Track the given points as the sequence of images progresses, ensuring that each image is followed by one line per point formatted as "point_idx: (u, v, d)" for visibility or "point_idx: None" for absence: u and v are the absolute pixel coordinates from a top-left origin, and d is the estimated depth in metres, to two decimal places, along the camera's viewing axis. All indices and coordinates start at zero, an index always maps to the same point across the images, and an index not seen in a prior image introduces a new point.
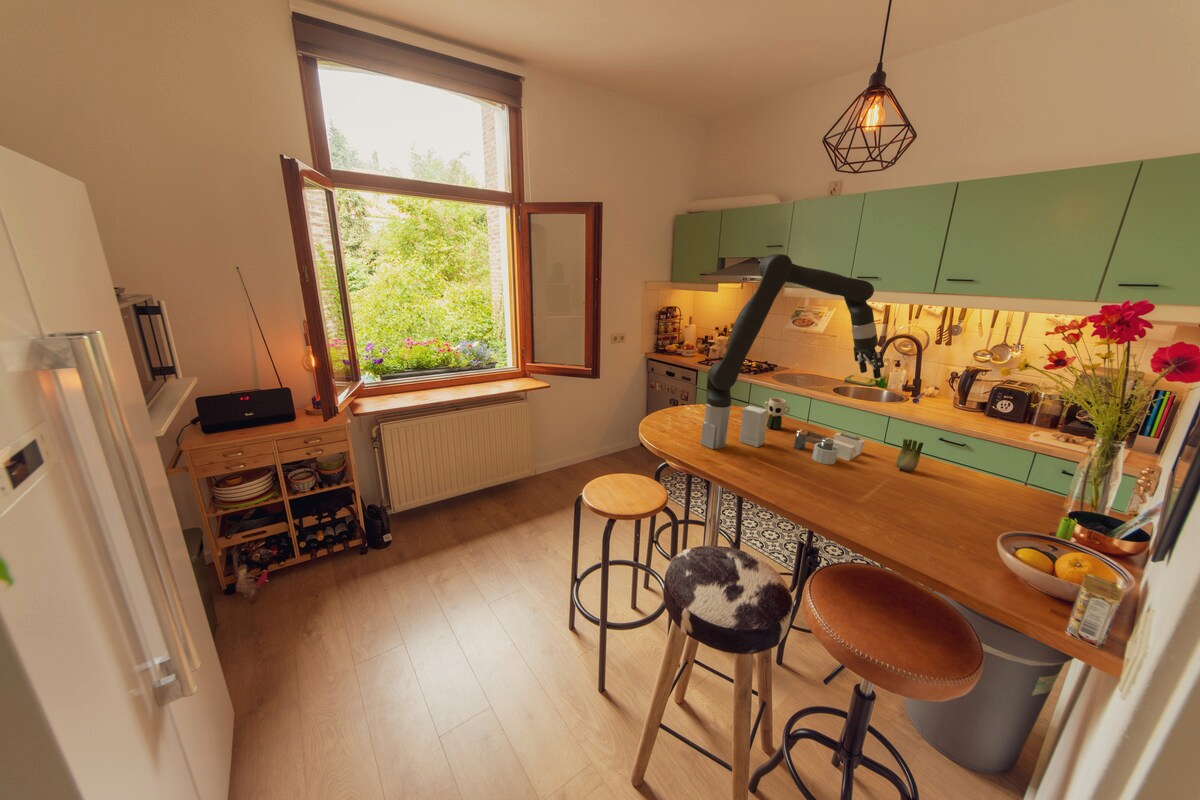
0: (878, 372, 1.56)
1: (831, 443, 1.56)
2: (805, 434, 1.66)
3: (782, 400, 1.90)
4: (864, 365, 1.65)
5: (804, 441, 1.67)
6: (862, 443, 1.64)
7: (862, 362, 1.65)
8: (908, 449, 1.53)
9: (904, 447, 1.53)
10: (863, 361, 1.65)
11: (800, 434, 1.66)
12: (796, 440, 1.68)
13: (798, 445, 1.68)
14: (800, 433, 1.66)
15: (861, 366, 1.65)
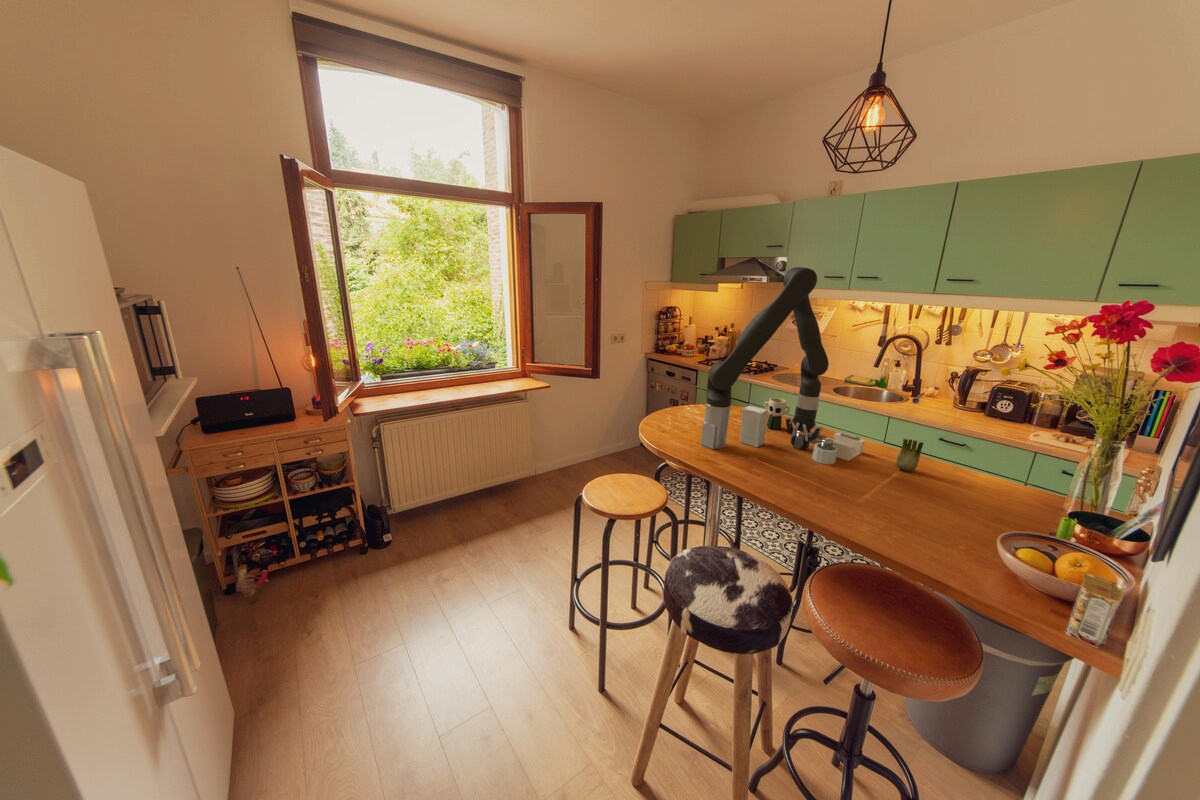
0: (808, 444, 1.66)
1: (831, 443, 1.56)
2: None
3: (782, 400, 1.90)
4: None
5: None
6: (862, 443, 1.64)
7: (795, 434, 1.70)
8: (908, 449, 1.53)
9: (904, 447, 1.53)
10: None
11: (800, 434, 1.66)
12: (796, 440, 1.68)
13: (798, 445, 1.68)
14: (800, 433, 1.66)
15: (794, 439, 1.70)
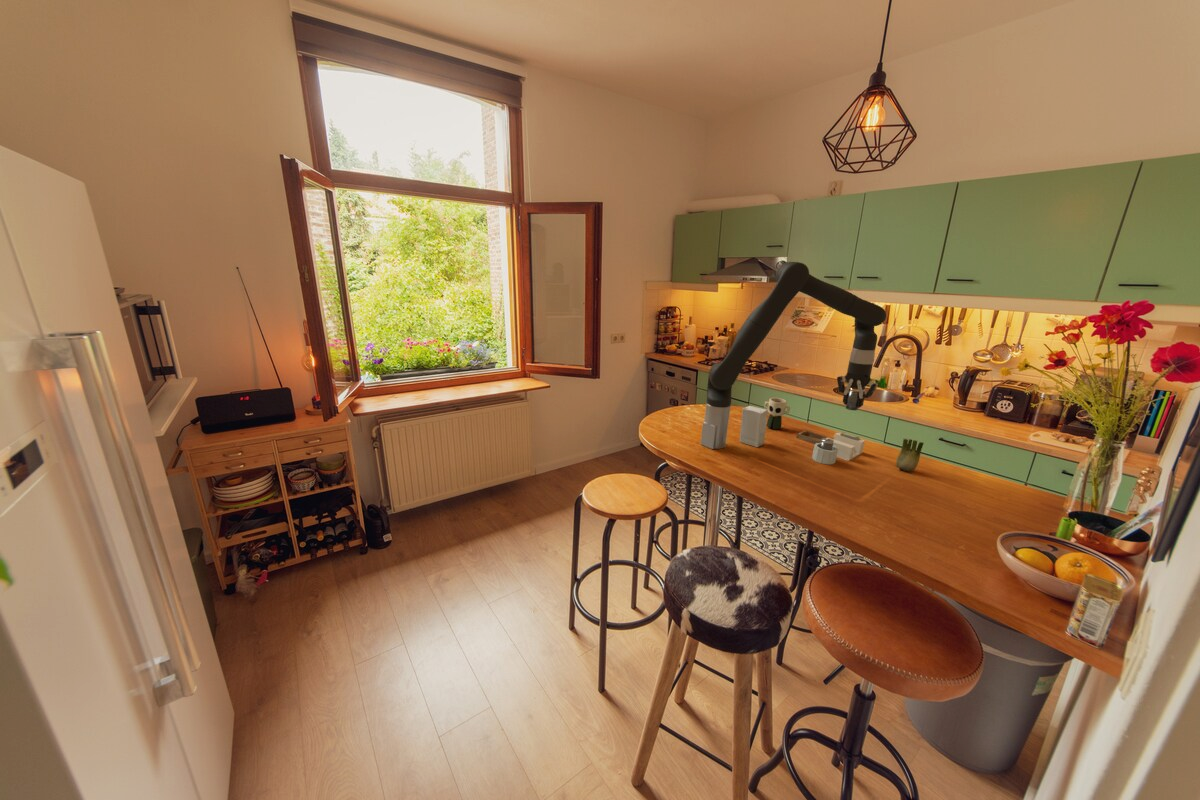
0: (862, 401, 1.58)
1: (831, 443, 1.56)
2: None
3: (782, 400, 1.90)
4: None
5: None
6: (862, 443, 1.64)
7: None
8: (908, 449, 1.53)
9: (904, 447, 1.53)
10: (848, 392, 1.61)
11: (854, 392, 1.57)
12: (849, 398, 1.59)
13: (852, 403, 1.59)
14: (854, 390, 1.57)
15: (847, 397, 1.61)
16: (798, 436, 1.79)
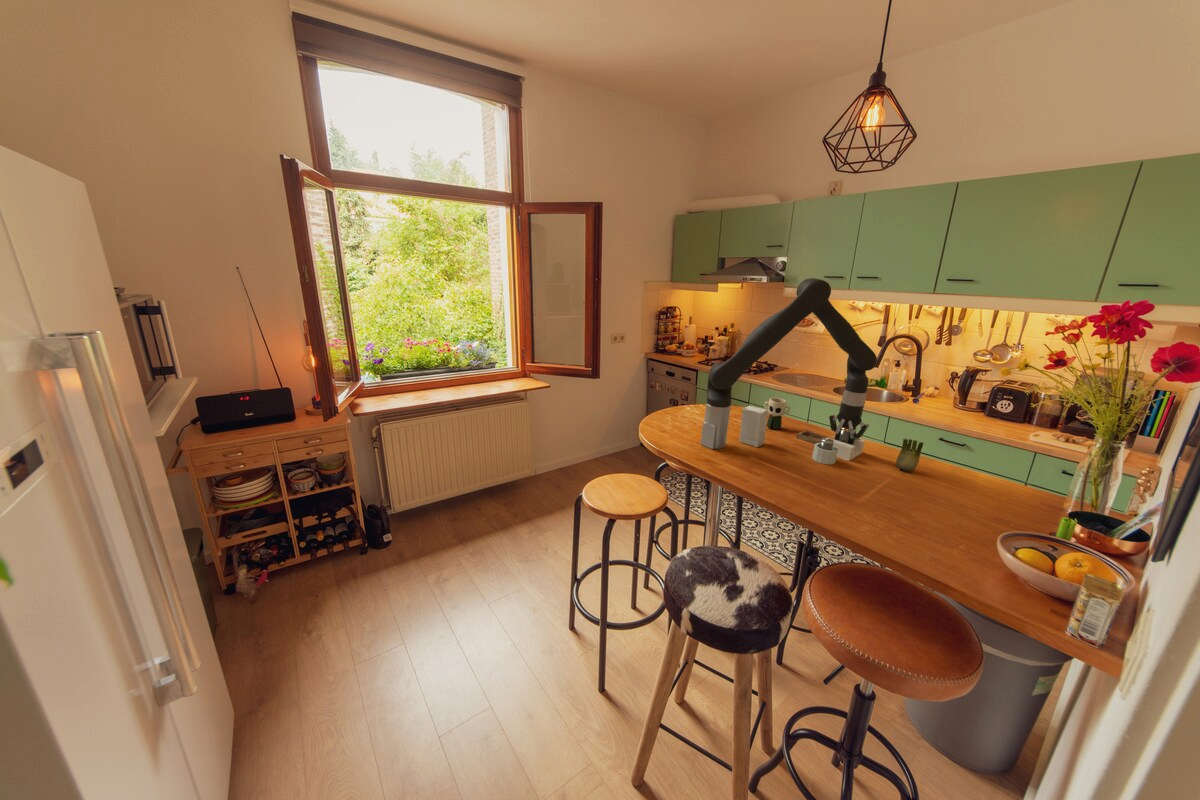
0: (853, 441, 1.63)
1: (831, 443, 1.56)
2: None
3: (782, 400, 1.90)
4: None
5: None
6: (862, 443, 1.64)
7: None
8: (908, 449, 1.53)
9: (904, 447, 1.53)
10: None
11: (845, 431, 1.62)
12: (841, 437, 1.64)
13: None
14: (845, 430, 1.62)
15: (838, 436, 1.66)
16: (798, 436, 1.79)
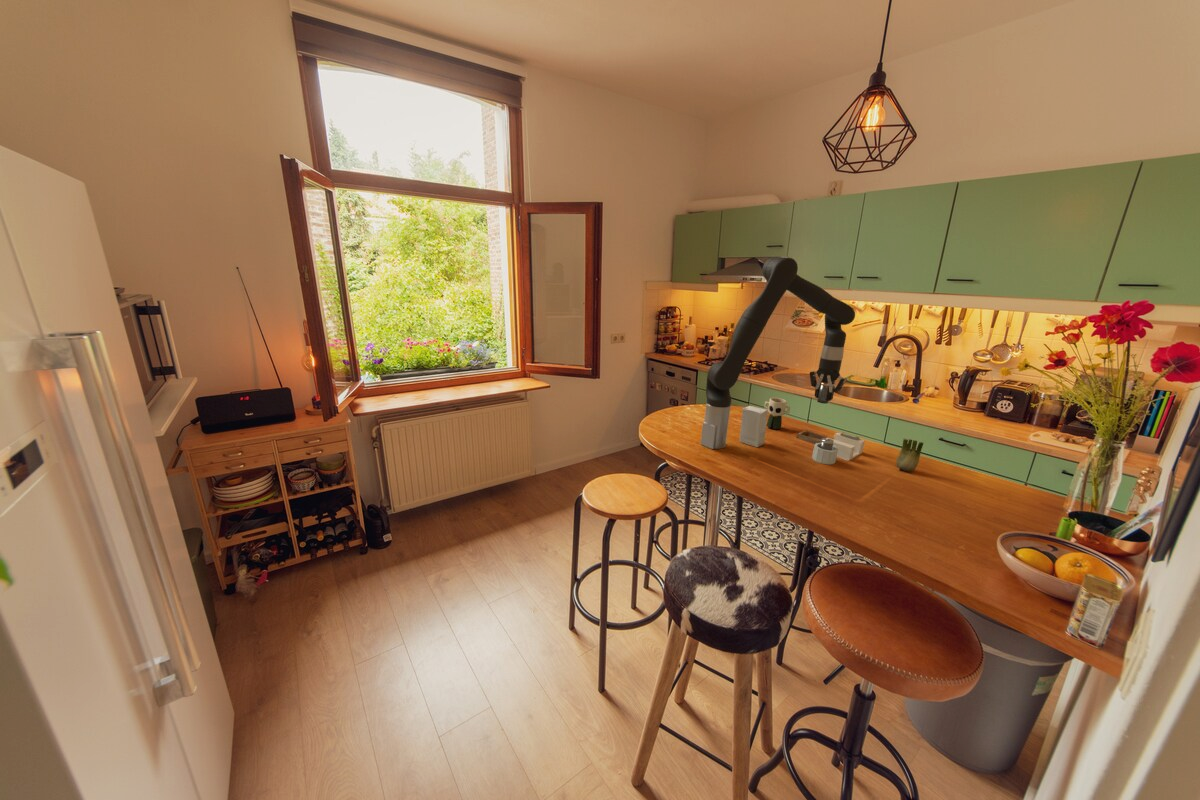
0: (832, 395, 1.69)
1: (831, 443, 1.56)
2: None
3: (782, 400, 1.90)
4: None
5: None
6: (862, 443, 1.64)
7: (819, 387, 1.72)
8: (908, 449, 1.53)
9: (904, 447, 1.53)
10: None
11: (824, 386, 1.68)
12: (820, 392, 1.70)
13: (822, 397, 1.70)
14: (824, 384, 1.68)
15: (818, 391, 1.72)
16: (798, 436, 1.79)
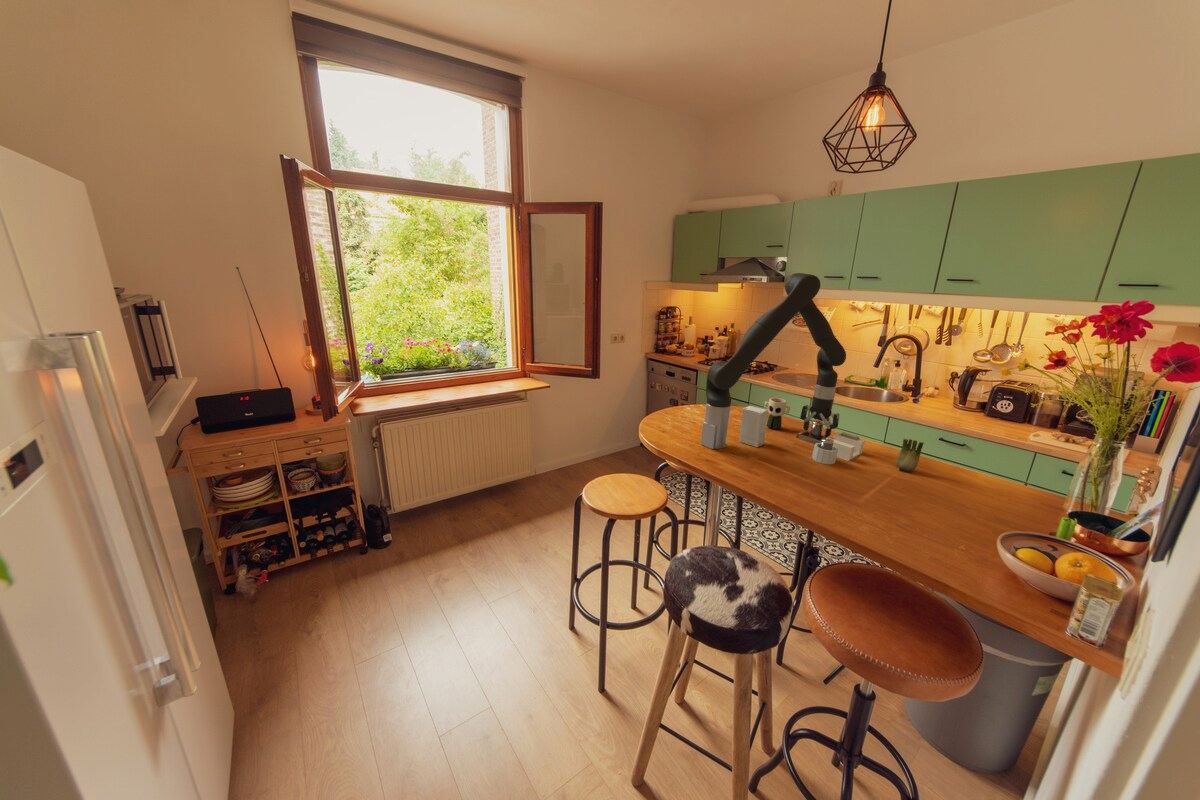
0: (830, 431, 1.72)
1: (831, 443, 1.56)
2: (821, 425, 1.73)
3: (782, 400, 1.90)
4: (808, 423, 1.79)
5: (820, 432, 1.74)
6: (862, 443, 1.64)
7: (808, 421, 1.78)
8: (908, 449, 1.53)
9: (904, 447, 1.53)
10: (808, 420, 1.78)
11: (816, 425, 1.74)
12: (812, 431, 1.76)
13: (814, 436, 1.75)
14: (816, 424, 1.74)
15: (807, 424, 1.78)
16: (798, 436, 1.79)
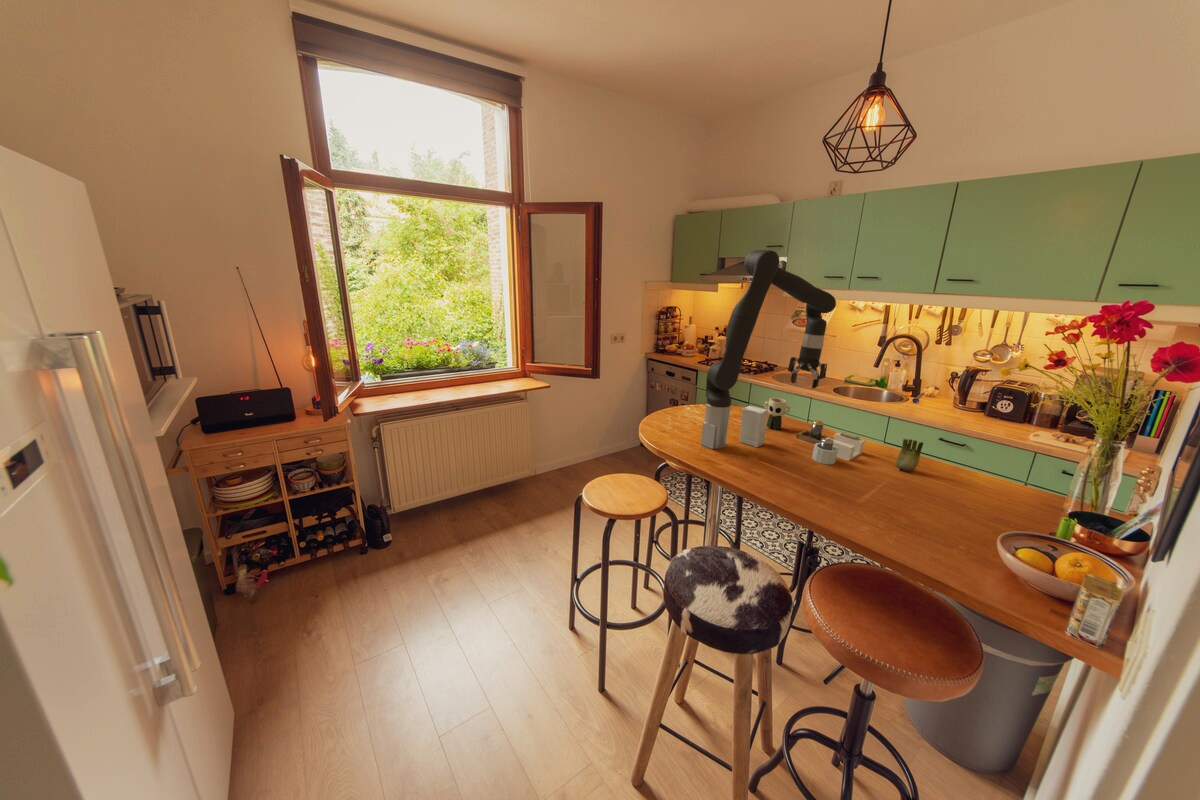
0: (817, 382, 1.68)
1: (831, 443, 1.56)
2: (821, 425, 1.73)
3: (782, 400, 1.90)
4: (796, 376, 1.75)
5: (820, 432, 1.74)
6: (862, 443, 1.64)
7: (795, 373, 1.75)
8: (908, 449, 1.53)
9: (904, 447, 1.53)
10: (796, 372, 1.75)
11: (816, 425, 1.74)
12: (812, 431, 1.76)
13: (814, 436, 1.75)
14: (816, 424, 1.74)
15: (794, 376, 1.75)
16: (798, 436, 1.79)
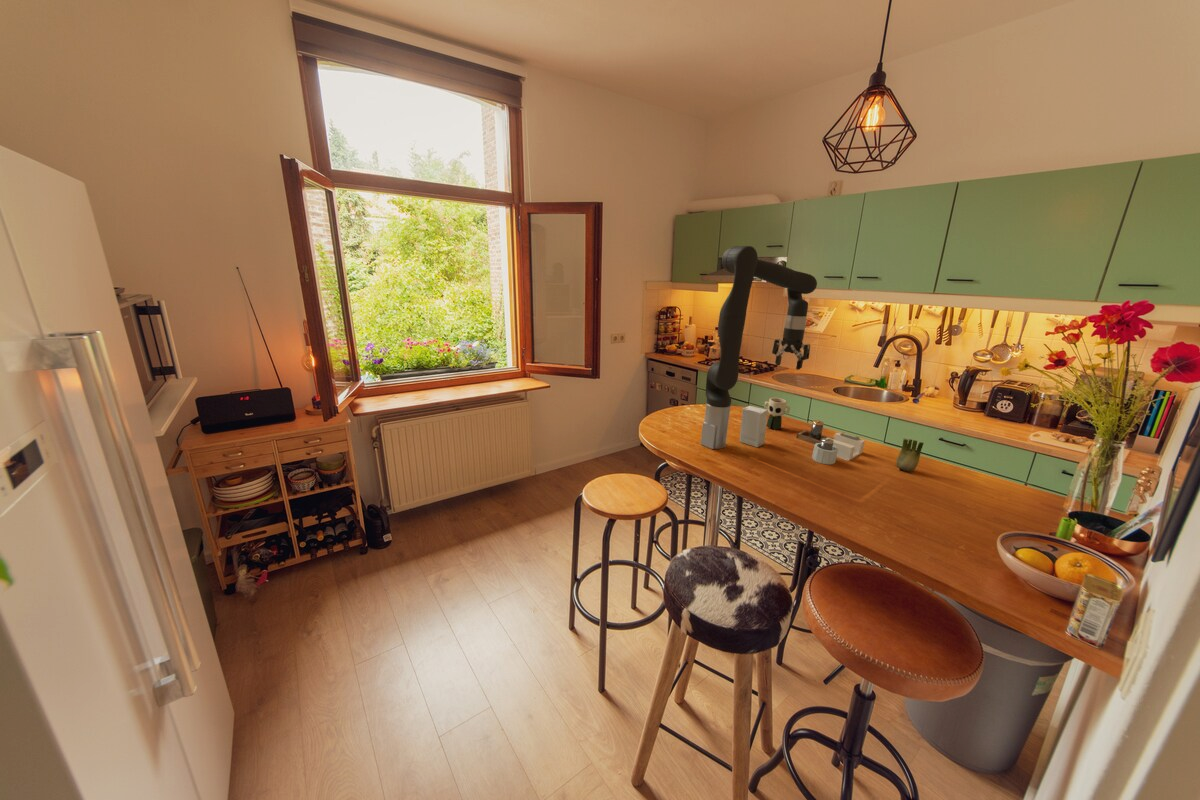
0: (801, 364, 1.69)
1: (831, 443, 1.56)
2: (821, 425, 1.73)
3: (782, 400, 1.90)
4: (780, 358, 1.76)
5: (820, 432, 1.74)
6: (862, 443, 1.64)
7: (780, 355, 1.75)
8: (908, 449, 1.53)
9: (904, 447, 1.53)
10: (780, 354, 1.76)
11: (816, 425, 1.74)
12: (812, 431, 1.76)
13: (814, 436, 1.75)
14: (816, 424, 1.74)
15: (778, 358, 1.75)
16: (798, 436, 1.79)
